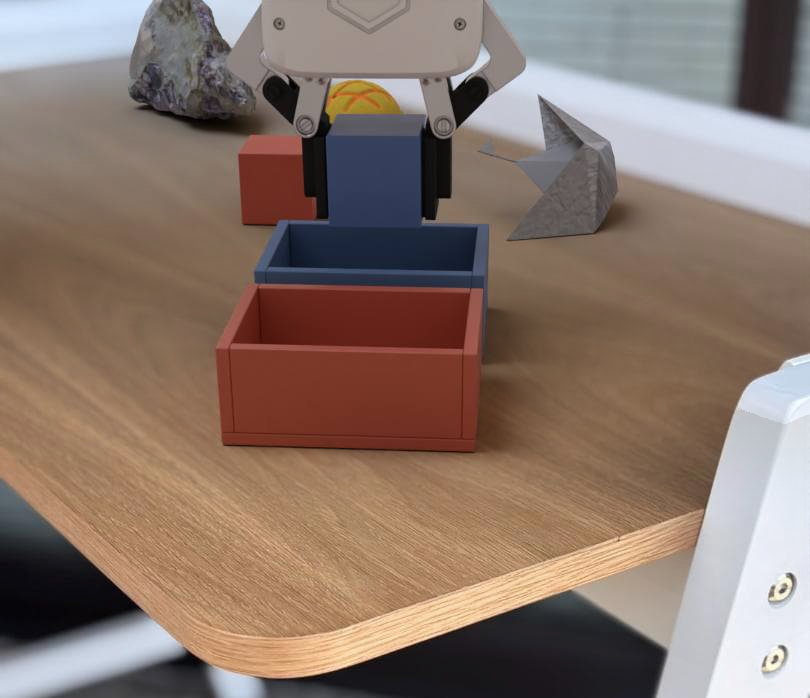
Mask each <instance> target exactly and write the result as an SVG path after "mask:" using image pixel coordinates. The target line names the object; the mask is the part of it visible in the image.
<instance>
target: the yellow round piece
mask: <svg viewBox="0 0 810 698" xmlns="http://www.w3.org/2000/svg"><path fill="white" fill-rule="evenodd" d="M326 113H327V114H328V115H329V116H330V123H333V121H334V119H335V117H336V115H337V114H405V113H404V112H403V110H401V108H400V106H399V103H398V102H397V100H396V99H395V98H394V97H393V96H392V95H391V93H390V92H389V91H388V90H386V89H385V88H384V87H382V86H381V85H380V84H377V83H374V82H372V81H368V80H365V79H347V80H344V81H341V82H338V83H336V84H335V85H333V86H331V87H330V92H329V97H328V102H327V107H326Z"/></svg>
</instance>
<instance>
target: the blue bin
mask: <svg viewBox="0 0 810 698" xmlns="http://www.w3.org/2000/svg"><path fill="white" fill-rule="evenodd" d="M489 254H490V224H489V223H463V222H461V223H460V222H459V223H458V222H422V224H421V228H420V229H393V228H330V227H329V220H315V221H305V220H291V221H289V220H279V222H278V224H277V225H275V228H274V230H273V232H272V234H271V236H270V237H269V240H268V242H267V243H266V246H265V248H264V250H263V252H262V253H261V256H260V257H259V260H258V262H257V264H256V266H255V268H254V270H253V280H254V284H259V285H260V284H297V285H343V286H389V287H436V288H470V290H471V289H472V288H480V289H483V325H482V364H483V363H484V351H485V340H486V327H487V318H488V317H487V315H488V305H489V304H488V303H489V302H488V301H489V300H488V299H489V297H488V296H489V261H490V259H489V257H490V255H489Z"/></svg>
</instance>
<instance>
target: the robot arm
mask: <svg viewBox="0 0 810 698" xmlns="http://www.w3.org/2000/svg"><path fill="white" fill-rule="evenodd" d="M482 45H483V47H484V48H485V50H486V51H487V52H488V55H489V59H488V61H486V62H485V63H484V64H483V65H482V66H481V67H479V68H478V69H476V70H475V71H474V72H472V73H470V74H468V75H467V76H466V77H465V78H464V79H463V80H462V81H461V82H460V83H459V84H458V85H457V86H456V87H455V88H454V85H453V81H452V78H453V77H456V76H459V75H461V74H462V75H463V74H464V73H466V72H467V71H469V70H470V69H472V68H473V67H474V66H475V64H476V62H477V61H478V59H479V56H480V54H481V49H482V48H481V47H482ZM231 48H232V50H231V51H230V53H229V55H228V56H227V58H226V67H227V69H228V70H229V71H230V72H231V73H232V74H233V75H235V76H236V77H238V78H239V79H240V80H242V81H243V82H244V83H246V84H247V85H249V86H250V87H251V88H252V90H254V91H257V92H258V93H259V94H260V95H262V96H263V98H264V99H265V100H266V101H267V102H268V103H269V104H270V105H271V106H272V107H273V108H274V109H275V110H276V111H277V112H278V113H279V114H280V115H281V116H282V117H283V119H285V120H287V122H288V123H290V125H291V126H292V128H293V131H294V132H295V134H296V135H297V136H300V137H302V158H303V181H304V195H305V197H316V209H317V216H316V219H317V220H329V209H328V182H327V156H326V136H327V134H328V132H329V129H330V127H331V125H332V123H330V116H329V115H328V114H327V113H326V107H327V102H328V97H329V92H330V88H331V87H332V82H333V79H347V80H365V79H367V80H368V79H369V80H371V79H372V80H377V79H378V80H380V79H381V80H386V79H387V80H418V81H419V85H420V88H421V93H422V97H423V102H424V105H425V109H426V113H427V116H426V128H425V130H424V134H423V138H422V142H421V175H422V217H423V218H424V221H436V220H437V215H438V210H439V206H440V205H439V204H440V200H442V199H443V200H445V199H448V200H451V199H452V196H453V195H452V192H453V136H454V134H455V133H456V131H457V129H458V128H460V127H461V125H463V123H465V121H467V120H468V118H470V117H471V116H472V115H473V114H474V113H475V111H476V110H477V109H479V108H480V107H481V106H482V104H484V103H485V101H486V100H487V99H488V98H489V97H491V96H492V95H494V94H495V93H497V92H498V91H500V90H501V89H502V88H504V87H505V86H506V85H508V84H509V83H511V82H512V81H513V80H515V79H516V78H518V77H519V76H521V74H523V73H524V72H525V70H526V67H527V56H526V53H525V52H524V50H523V49H522V47H521V46H520V44H519V43H518V42H517V40H516V38H515V37H514V35H513V34H512V33H511V31H510V30H509V28H508V27H507V25H506V24H505V22H504V20H502V18H501V16H500V15H499V13H498V12H497V11H496V10H495V8H494V6H493V5H492V4H491V2H490V0H261V3H260V5H259V6H258V8H257V9H256V10H255V12H254V14H253V15H252V17H251V19H250V20H249V22H248V23H247V25H246V26H245V27H244V30H243V31H242V32H241V34H240V36H239V37H238V39H237V41H236V42H235V44H234V45H233V47H231ZM292 77H295V78H301V80H300V81H301V82H300V85H299V84H298V83H297V82H296V81H295V80H294V79H293V78H292Z"/></svg>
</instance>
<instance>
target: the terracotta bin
mask: <svg viewBox="0 0 810 698" xmlns="http://www.w3.org/2000/svg"><path fill="white" fill-rule="evenodd" d="M482 325H483V289H480V288H472V289H471V290H470V288H436V287H389V286H343V285H297V284H260V285H259V284H255V283H247V284H246V285H245V287H244V290H243V292H242V294H241V296H240V297H239V300H238V302H237V304H236V306H235V308H234V310H233V312H232V315H231V316H230V318H229V320H228V322H227V324H226V326H225V328H224V330H223V332H222V334H221V336H220V338H219V339H218V342H217V344H216V346H215V348H214V349H215V350H214V351H215V364H216V379H217V393H218V407H219V419H220V421H219V422H220V431H221V434H220V435H221V436H220V437H221V443H222V445H228V446H229V445H231V446H261V447H262V446H264V447H265V446H266V447H297V448H300V447H301V448H330V449H331V448H334V449H365V450H366V449H369V450H397V451H398V450H402V451H434V452H465V453H466V452H467V453H469V452H470V453H474V452H476V447H477V435H478V424H479V423H478V422H479V421H478V420H479V412H480V411H479V410H480V400H481V399H480V398H481V386H482V371H483V370H482V369H483V368H482V366H483V365H482V364H483V363H482Z"/></svg>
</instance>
